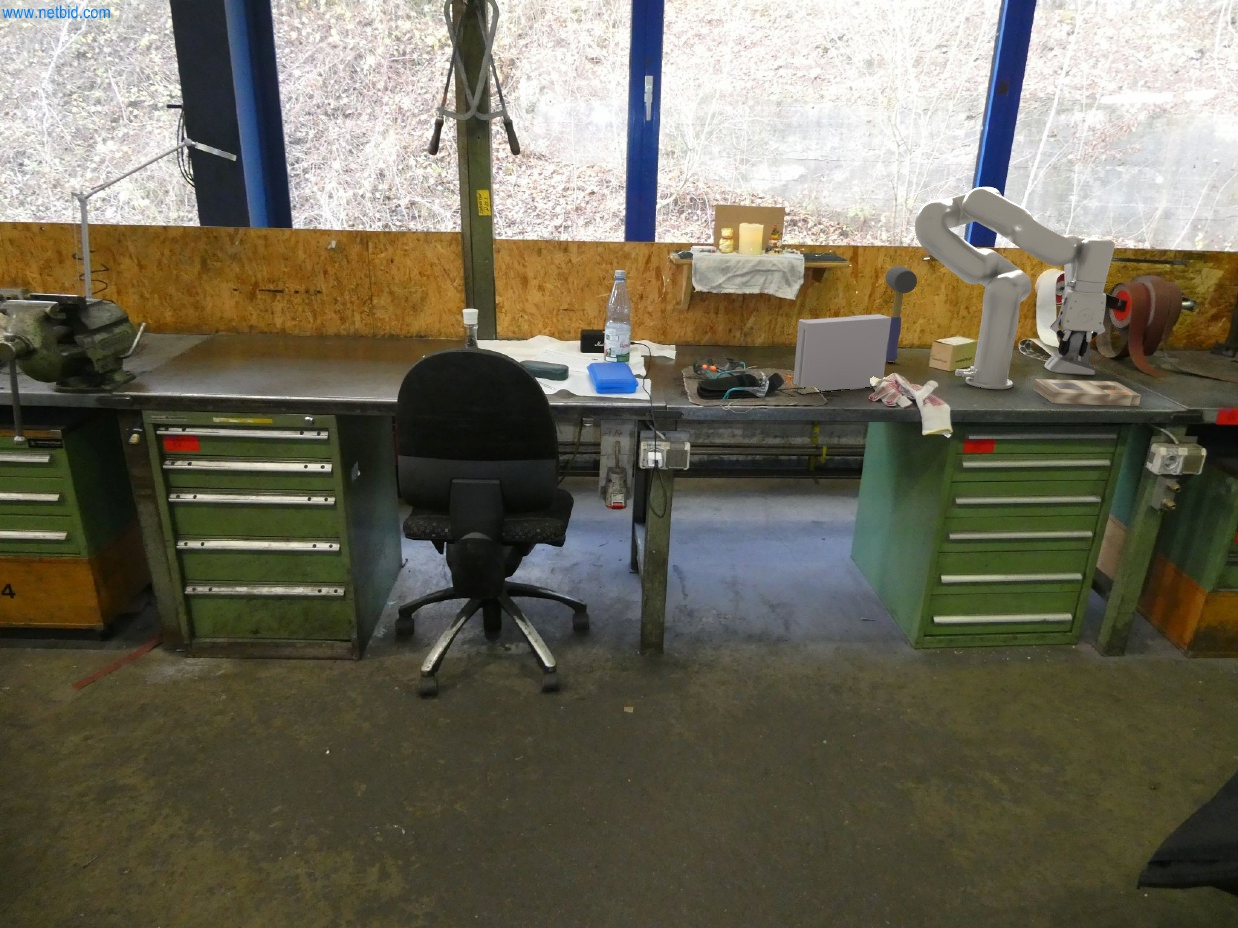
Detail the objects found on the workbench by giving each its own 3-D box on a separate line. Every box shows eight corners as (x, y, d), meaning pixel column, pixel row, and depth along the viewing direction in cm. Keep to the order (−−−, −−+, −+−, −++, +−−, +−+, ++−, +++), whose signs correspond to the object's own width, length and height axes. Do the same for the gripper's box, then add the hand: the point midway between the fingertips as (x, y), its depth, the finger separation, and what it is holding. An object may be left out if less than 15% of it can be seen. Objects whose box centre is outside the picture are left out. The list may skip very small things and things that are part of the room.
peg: (1065, 360, 218) (1073, 328, 215) (1059, 357, 222) (1067, 324, 218) (1080, 361, 218) (1088, 328, 214) (1074, 358, 221) (1082, 325, 218)
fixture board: (1052, 403, 217) (1054, 392, 216) (1033, 389, 230) (1035, 378, 229) (1138, 406, 215) (1141, 395, 214) (1113, 392, 228) (1116, 381, 227)
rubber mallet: (873, 357, 265) (885, 264, 254) (897, 358, 265) (909, 264, 254) (883, 366, 254) (895, 269, 243) (907, 367, 253) (920, 270, 242)
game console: (789, 389, 228) (795, 319, 220) (869, 381, 237) (878, 314, 230) (800, 395, 222) (807, 323, 215) (882, 386, 232) (891, 317, 224)
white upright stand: (1040, 364, 258) (1062, 252, 246) (1084, 366, 256) (1108, 253, 243) (1050, 373, 248) (1074, 256, 235) (1096, 375, 245) (1122, 258, 232)
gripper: (1060, 288, 210) (1044, 356, 216) (1127, 291, 208) (1109, 360, 215) (1049, 283, 216) (1033, 350, 223) (1114, 286, 215) (1096, 353, 222)
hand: (1071, 354), depth 219 cm, fingers closed on peg, 4 cm apart
